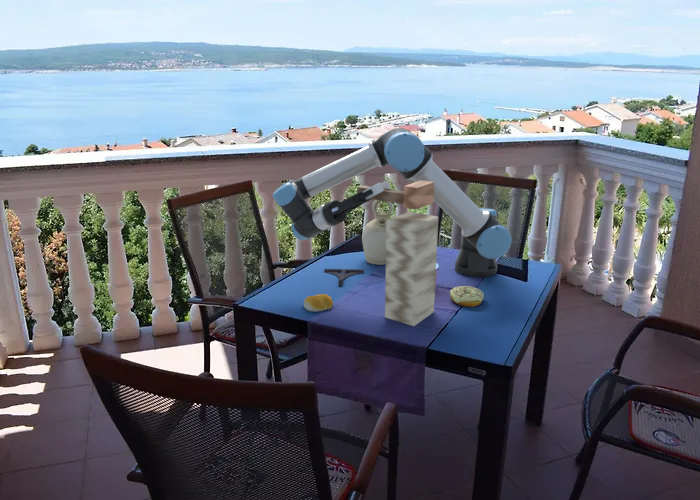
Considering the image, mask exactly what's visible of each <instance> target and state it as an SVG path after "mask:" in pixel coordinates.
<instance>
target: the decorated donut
mask: <svg viewBox="0 0 700 500" xmlns="http://www.w3.org/2000/svg"><path fill="white" fill-rule="evenodd" d="M449 296H450V299H451V301H453V302H454V303H455V304H457V305H459V306H461V307H471V308H474V307H477V306H480V305H481V304H482V302H483V300H484V298H485V297H484V296H485V294H484V292H483V291H482V290H481V289H479V288H477V287H475V286H468V285H463V286H460V285H459V286H454V287H453V288H452V289H451V290H450V292H449Z"/></svg>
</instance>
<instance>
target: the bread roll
mask: <svg viewBox="0 0 700 500" xmlns="http://www.w3.org/2000/svg"><path fill="white" fill-rule="evenodd" d="M333 305H334V301H333V299H332V296H330V295H329V294H325V293H320V294H315V295H310V296H309V295H308V296H307V297H306V298H304V300H303V307H304V309H305V310H307V311H308V312H313V313H314V312H315V313H316V312H317V313H318V311H319V312H323V311H325V310H327V309H328V310H330V309H332V307H333Z"/></svg>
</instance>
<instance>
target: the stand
mask: <svg viewBox="0 0 700 500" xmlns="http://www.w3.org/2000/svg"><path fill="white" fill-rule="evenodd" d="M438 232H439V216H438V215H437V216H436V215H433V214H425V213H418V212H413V211H407V212H404V213H401V214H398V215H396V216H393V217H391V218H389V219H388V220H387V223H386V265H385V288H384V289H385V290H384V300H385V301H384V318H386V319H389V320H392V321H395V322H398V323H402V324H405V325H409V326H412V327H416V326H417V325H418V324H419V323H420V322H422V321H423V320H425V319H427V318H428V317H429V316H431V315H432V314H434V313H435V299H436V296H435V295H436V277H437V275H436V274H437V255H438V254H437V252H438Z"/></svg>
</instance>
